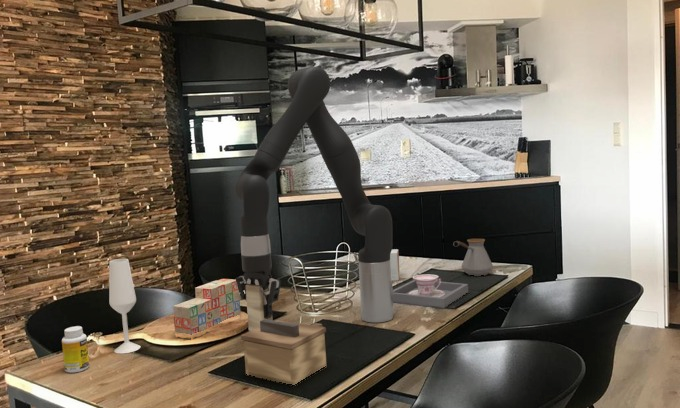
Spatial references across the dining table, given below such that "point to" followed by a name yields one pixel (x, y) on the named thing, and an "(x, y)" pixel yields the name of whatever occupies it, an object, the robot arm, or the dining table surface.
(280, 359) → the open wooden box
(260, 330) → the lid
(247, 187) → the robot arm
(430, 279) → the teacup
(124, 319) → the champagne flute
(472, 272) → the coffee pot
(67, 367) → the supplement bottle
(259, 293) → the key block
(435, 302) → the coaster tray
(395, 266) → the small box
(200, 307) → the stack of blocks
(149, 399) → the dining table surface
